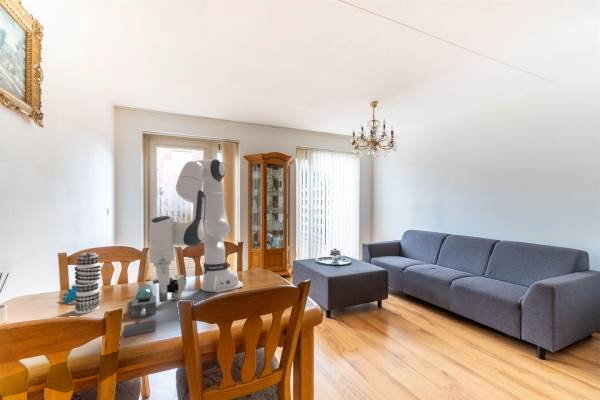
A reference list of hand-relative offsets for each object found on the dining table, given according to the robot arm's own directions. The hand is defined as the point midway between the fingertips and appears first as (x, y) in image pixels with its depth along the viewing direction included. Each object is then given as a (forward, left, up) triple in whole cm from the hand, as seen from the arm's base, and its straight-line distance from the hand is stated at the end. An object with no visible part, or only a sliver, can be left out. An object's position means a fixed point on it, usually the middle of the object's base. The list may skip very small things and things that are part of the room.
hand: (163, 290), depth 111 cm
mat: (+8, +4, -12) cm, 15 cm away
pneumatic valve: (-7, -23, -12) cm, 27 cm away
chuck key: (0, 0, -4) cm, 4 cm away
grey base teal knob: (+7, -17, -12) cm, 22 cm away
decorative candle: (+29, -27, -12) cm, 42 cm away
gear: (+36, -42, -13) cm, 57 cm away
